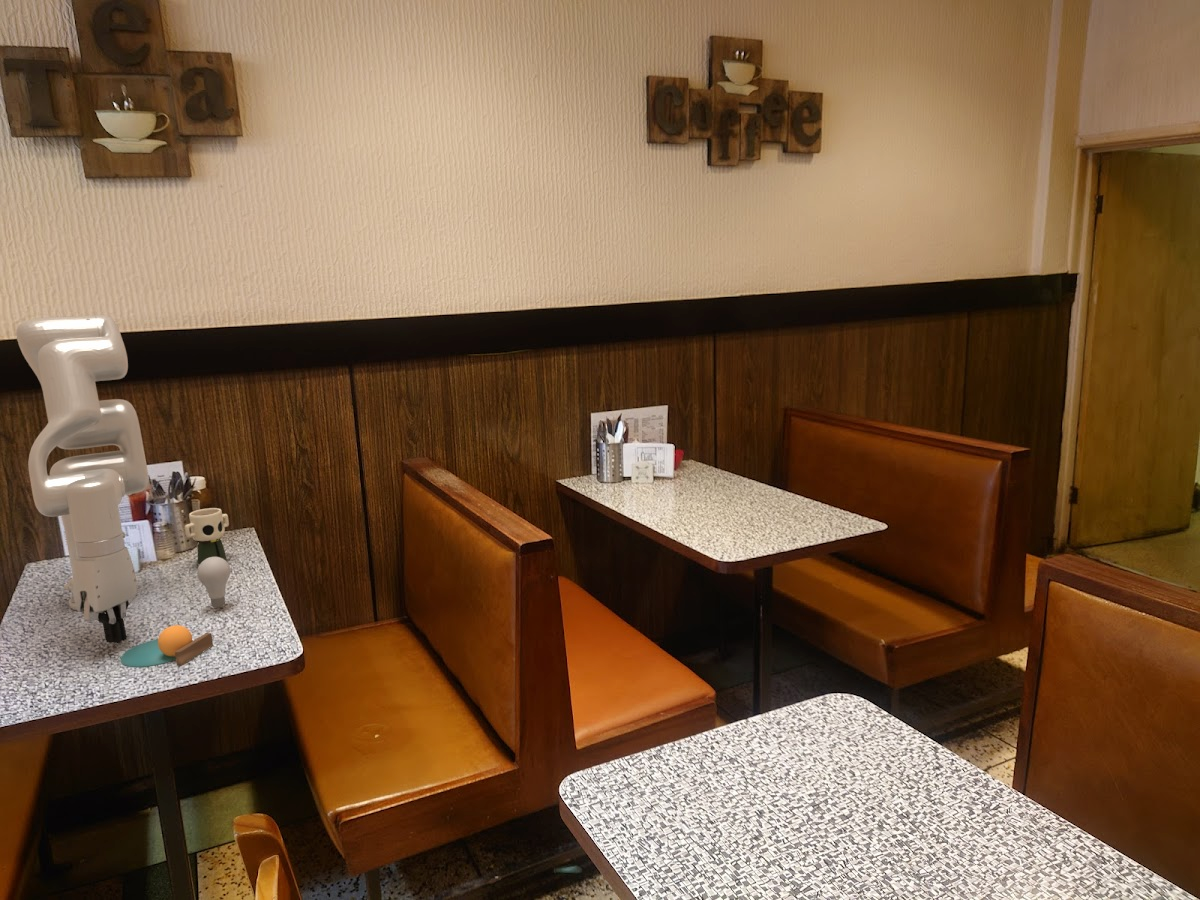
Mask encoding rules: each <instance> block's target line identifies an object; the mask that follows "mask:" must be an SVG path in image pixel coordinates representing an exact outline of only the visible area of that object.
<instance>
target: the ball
mask: <svg viewBox="0 0 1200 900" xmlns="http://www.w3.org/2000/svg"><path fill="white" fill-rule="evenodd" d="M157 639H158V646H159V649H160V651H161V652H162V653H163V654H165V655H167V656H171V657H176V656H175V651H177V650H179V649H180V648H182V647H184V646H185V645H187V644H189V643H190V642H192V640H193V636H192V633H191V631H190V630H189V629H188V628H187V627H185V626H183V625H181V624H175V625H170V626H168V627H166V628H164V629H163V630H162V632H161V633H160V634H159V636H158V638H157Z"/></svg>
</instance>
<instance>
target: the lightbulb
mask: <svg viewBox="0 0 1200 900" xmlns="http://www.w3.org/2000/svg"><path fill="white" fill-rule="evenodd" d="M196 573H197V577H198V580H199V581H200V583H201V584H202V585H203V587H204V588H205V589H206V592H207V593H208V598H209V599H210V603H211V607H213V609H214V608H215V609H217V610H218V609H221V608H222V607H225V605H226V598H225V597H226V586H227V583H228V580H229V578H230V575H231V568H230V564H229V563H228V562H227V560H226V561H225V560H224V559H222V558H220V557H210V558H207V559H205V560H204V561H203V562H201V564H198V568H197V572H196Z"/></svg>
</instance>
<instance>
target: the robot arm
mask: <svg viewBox="0 0 1200 900" xmlns="http://www.w3.org/2000/svg"><path fill="white" fill-rule="evenodd" d="M15 335H16V341H17V342H18V343H17V344H18V346H19V349H20V351H21V353H22V356H23V357H24V360H26V362H27V363H28V366H29V367H30V368H31V369H32V371H33V373H34V374H35V376H36V377H37V379H38V381H39V384H40V386H41V390H42V395H43V401H44V405H45V411H46V417H47V422H48V423H47V424H46V425H45V426H44V428H43V429H42V430H41V431H40V433H39V434H38V436H37V437H36V439H34V442H33V444H32V445H31V448H30V452H29V456H28V462H27V463H28V464H27V465H28V474H29V480H30V486H31V492H32V493H31V494H32V497H33V502H34V506H35V507H36V509H37V511H38V512H39V513H40V514H41V515H43V516H45V517H50V518H51V517H53V518H56V517H61V520H62V524H63V528H64V534H65V535H64V536H65V540H66V545H67V551H68V556H69V562H70V568H71V573H72V578H70V579H69V580H68V582H67V583H65V584H64V585H63V590H64V591H66V592H68V591H69V592H70V591H71V592H72V597H70V599H69V600H68V606H69V608H70V609H72V610H75V611H76V612H80V613H82V612H83V620H84V621H85V622H95V621H97V622H98V623H99V624H102V628H103V633H104V638H105V642H106V643H111V644H120V643H122V642H123V641H125V640H127V632H126V626H125V619H126V618H127V610H128V607H129V606H130V605H131V604H132V603H133V602H135V601H136V599H137V596H136V595H137V594H138V580H137V575H136V570H135V568H134V563H133V560H132V557H131V554H130V552H129V549H128V548H127V546H125V540H124V539H125V538H126V537H127V536H126V533H125V532H124V531H123V528H122V520H121V515H120V509H119V504H120V503H122V500H123V498H124V497H125V496H127V495H132V494H137V493H140V492H143V491H144V490H145V489H146V488H147V487H148V483H149V472H148V466H147V459H146V455H145V448H144V444H143V437H142V432H141V428H140V427H141V426H140V422H139V417H138V415H137V411H136V410H135V408H134V406H133V404H132V403H131V402H129V401H128V400H125V399H119V398H113V399H105V400H103V399H102V400H100V399H99V396H98V395H99V394H98V390H97V389H98V388H97V386H96V385H97V384H96V382H100V381H102V382H104V381H112V380H113V381H114V380H121V379H123V378H125V376H126V375H127V373H128V369H129V363H128V362H129V361H128V353H127V350H126V346H125V343H124V341H123V337H122V335H121V331H120V329H119V326H118V324H117V322H116V320H115V319H114V318H112V317H111V316H109V315H106V314H105V315H104V314H96V315H95V314H94V315H91V314H90V315H76V316H75V315H73V316H50V317H39V318H33V319H29V320H25V321H22V323H19V324H18V325H17V327H16V333H15ZM105 446H106V447H107V446H116V447H118V449H119V450H112V451H107V452H106V451H105V452H97V453H88V454H81V455H73V456H69V457H66V458H63V459H60V460H57V462H54V464H53V465H52V466H51V468H50V471H49V473H48V470H47V463H48V462H47V461H48V458H49V455H50V454H51V452H52V451H53V450H54V449H55V448H57V447H58V448H59V449H63V450H79V449H80V450H82V449H91V448H97V447H105Z"/></svg>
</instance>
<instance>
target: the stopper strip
mask: <svg viewBox="0 0 1200 900" xmlns="http://www.w3.org/2000/svg"><path fill="white" fill-rule="evenodd" d="M212 636H213V635H212V633H211V632H206V633H204V634H202V635H200V636H199V637H197V638H195V639H194V640H193V641H192V642H190V643H189V644H187V645H185V646H184V647H182V648H180V649H179V650H177V651H175V656H176V660H175V663H176V665H177V666H181V665H182V666H184V665H185V664H186V663H188V662H190V661H192V660H193V659H195V658H196V657H197V655H198V656H200V655H201V654H202V653H201V652H203V651H204V652H206V651H207V650H209V649H210V648H212V647H213V646H214V643H213V637H212ZM212 645H213V646H212ZM211 646H212V647H211ZM209 647H210V648H209ZM208 648H209V649H208ZM206 649H207V650H206ZM205 650H206V651H205ZM204 652H203V653H204ZM200 653H201V654H200ZM194 657H195V658H194ZM189 660H190V661H189Z"/></svg>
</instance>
